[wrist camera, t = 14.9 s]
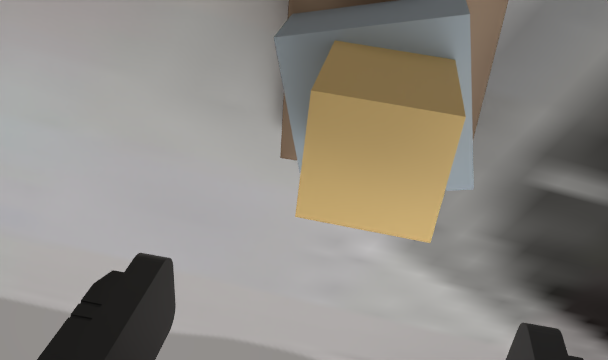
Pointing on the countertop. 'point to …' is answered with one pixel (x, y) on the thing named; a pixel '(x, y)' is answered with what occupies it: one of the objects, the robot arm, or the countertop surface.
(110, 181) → the countertop surface
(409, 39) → the grey block
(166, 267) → the robot arm
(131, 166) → the countertop surface
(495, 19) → the walnut block
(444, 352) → the countertop surface
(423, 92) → the ochre block
